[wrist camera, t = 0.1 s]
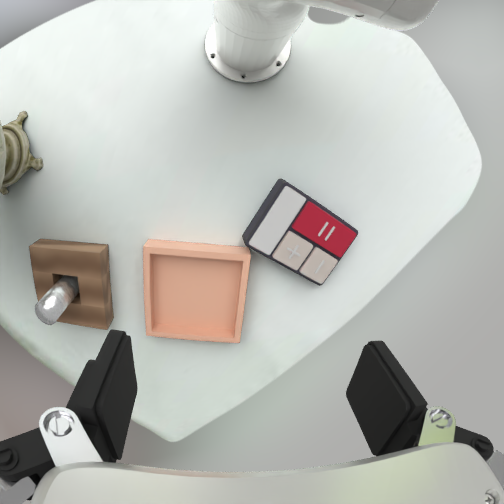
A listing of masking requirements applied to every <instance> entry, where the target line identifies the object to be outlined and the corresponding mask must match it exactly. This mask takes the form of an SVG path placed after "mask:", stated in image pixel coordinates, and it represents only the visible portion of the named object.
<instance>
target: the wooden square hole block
mask: <svg viewBox="0 0 504 504" xmlns="http://www.w3.org/2000/svg"><path fill="white" fill-rule="evenodd" d="M29 250H30V257H31V265H32V271H33V277H34V283H35V289H36V294H37V299H38V301H39V300H40V299H41V298H42V297H43V296H44V295H45V294H46V293H47V292H48V291H49V290H50V289H51V288H52V287H53V286H54V285H55V284H56V283H57V282H58V281H59V280H60V279H61V278H62V277H63V275H69V276H76V277H78V283H79V291H80V292H79V293H78V294H77V295H76V296H75V298H74V299H73V300H72V301H71V303H70V304H69V305H68V307H67V308H66V309H65V310H64V312H63V313H62V314H61V316H60V317H59V318H58V319H57V321H58V322H63V323H69V324H74V325H80V326H86V327H92V328H99V329H105V330H107V329H108V328H109V326H110V324H111V322H112V320H113V318H114V316H113V307H112V297H111V285H110V271H109V253H108V245H106V244H94V243H83V242H71V241H60V240H48V239H39V240H38V241H36V242H35V243H33V244H32V245H30V246H29Z"/></svg>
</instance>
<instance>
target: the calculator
mask: <svg viewBox="0 0 504 504" xmlns="http://www.w3.org/2000/svg"><path fill="white" fill-rule="evenodd" d="M357 235H358V230H356V229H355V228H354V227H352V226H351V225H349V224H348V223H347V222H345V221H344V220H342V219H341V218H340V217H338V216H337V215H335V214H334V213H332V212H331V211H330V210H328V209H327V208H325V207H324V206H322V205H321V204H319V203H318V202H316V201H315V200H313V199H312V198H311V197H309V196H308V195H306V194H305V193H303V192H302V191H300V190H298V189H297V188H295V187H294V186H292V185H291V184H289V183H288V182H286V181H285V180H283V179H278V181H277V182H276V184H275V185H274V187H273V188H272V190H271V191H270V193H269V195H268V196H267V198H266V199H265V201H264V202H263V204H262V205H261V207H260V209H259V210H258V212H257V213H256V215H255V216H254V218H253V219H252V221H251V223H250V224H249V226H248V227H247V229H246V230H245V232H244V234H243V236H242V237H243V240H244V243H245V245H246V246H248V247H249V248H251V249H253V250H255V251H257V252H259V253H260V254H262V255H264V256H266V257H268V258H270V259H271V260H273V261H275V262H277V263H279V264H281V265H282V266H284V267H286V268H288V269H290V270H292V271H293V272H295V273H297V274H299V275H301V276H303V277H304V278H306V279H308V280H310V281H312V282H314V283H315V284H317V285H319V286H320V285H322V284H323V283H324V282H325V280H326V279H327V277H328V276H329V275H330V273H331V272H332V270H333V269H334V268H335V266H336V265H337V263H338V262H339V261H340V259H341V258H342V256H343V255H344V253H345V252H346V251H347V249H348V248H349V246H350V245H351V243H352V242H353V240H354V239H355V238H356V236H357Z"/></svg>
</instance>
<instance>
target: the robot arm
mask: <svg viewBox="0 0 504 504" xmlns="http://www.w3.org/2000/svg"><path fill="white" fill-rule="evenodd" d="M438 1H439V0H213V6H214V23H213V24H212V25H211V26H210V28H209V30H208V32H207V34H206V38H205V52H206V55H207V58H208V60H209V62H210V64H211V65H212V66H213V68H214V69H215V70H216V71H218V72H219V73H220V74H221V75H223V76H225V77H227V78H229V79H231V80H234V81H239V82H258V81H262V80H265V79H268V78H270V77H272V76H273V75H275V74H276V73H277V72H279V71H280V70H281V69H282V68H283V67H284V65H285V64H286V62H287V60H288V58H289V55H290V51H291V41H290V39H291V37H292V36H293V34H294V33H295V32H296V30H297V29H298V28H299V26H300V25H301V23H302V22H303V21H304V19H305V17H306V15H307V13H308V11H309V6H311V7H319V8H323V9H327V10H330V11H334V12H337V13H341V14H344V15H347V16H350V17H353V18H356V19H359V20H362V21H365V22H368V23H371V24H374V25H377V26H380V27H383V28H386V29H391V30H397V31H404V30H409V29H412V28H414V27H416V26H418V25H419V24H421V23H422V22H423V21H424V20H425V19H426V18H427V17H428V16H429V15H430V13H431V12H432V11H433V9H434V8H435V6H436V5H437V3H438ZM212 56H214V57H215V58H211V57H212ZM276 64H279V66H276ZM242 76H245V78H242ZM136 395H137V381H136V375H135V368H134V361H133V353H132V345H131V337H130V336H128V335H126V332H125V331H119V330H110V331H109V333H108V335H107V337H106V339H105V342H104V344H103V346H102V348H101V350H100V352H99V354H98V356H97V358H96V360H89V361H88V362H87V364H86V366H85V368H84V370H83V372H82V374H81V376H80V378H79V380H78V382H77V384H76V387H75V389H74V391H73V393H72V395H71V397H70V400H69V402H68V404H67V407H66V408H64V407H55V408H51V409H49V410H47V411H46V412H44V413H43V414H42V416H41V418H40V421H39V428H37V429H34V430H31V431H29V432H26V433H23V434H21V435H18V436H15V437H12V438H9V439H6V440H4V441H1V442H0V504H22V503H23V502H24V501H26V500H31V502H30V504H504V454H502V453H501V452H499V451H497V450H496V451H495V452H493V445H492V443H491V442H490V440H489V439H488V438H486V437H484V436H482V435H480V434H477V433H474V432H471V431H468V430H466V429H463V428H460V427H458V426H455V425H456V421H455V417H454V415H453V414H452V413H451V412H450V411H449V410H447V409H445V408H443V407H439V406H435V407H431V408H430V409H427V408H426V406H427V402H426V401H425V399H424V398H423V396H422V395H421V393H420V392H419V391H418V389H417V388H416V386H415V385H414V383H413V382H412V381H411V379H410V378H409V376H408V375H407V373H406V372H405V371H404V369H403V368H402V366H401V365H400V364H399V362H398V361H397V359H396V358H395V357H394V355H393V354H392V353H391V351H390V350H389V349H388V347H387V346H386V344H385V343H384V342H383V341H370V342H368V344H367V345H365V346H364V348H363V351H362V353H361V356H360V358H359V361H358V364H357V366H356V369H355V371H354V374H353V376H352V378H351V381H350V384H349V386H348V388H347V391H346V396H347V399H348V401H349V403H350V405H351V408H352V410H353V412H354V414H355V416H356V418H357V421H358V423H359V425H360V427H361V430H362V432H363V434H364V436H365V439H366V441H367V443H368V445H369V448H370V450H371V452H372V454H373V455H376V457H372V458H367V459H362V460H357V461H352V462H346V463H340V464H334V465H327V466H320V467H313V468H303V469H294V470H281V471H264V472H204V471H187V470H175V469H163V468H154V467H146V466H138V465H129V464H122V463H116V460H117V459H118V460H120V459H121V458H122V453H123V449H124V444H125V440H126V435H127V431H128V427H129V423H130V419H131V414H132V410H133V406H134V402H135V398H136Z"/></svg>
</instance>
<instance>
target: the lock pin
mask: <svg viewBox="0 0 504 504" xmlns="http://www.w3.org/2000/svg"><path fill="white" fill-rule="evenodd" d="M79 292H80V291H79V283H78V277H76V276H69V275H64V276H63V277H62V278H61V279H60V280H59V281H58V282H57V283H56V284H55V285H54V286H53V287H52V288H51V289H50V290H49V291H48V292H47V293H46V294H45V295H44V296H43V297H42V298H41V299H40V300H39V301H38V302H37V304H36V305H35V312H36V315H37V316H38V318H39V319H40V320H41V321H42V322H43V323H45V324H48V325H52V324H54V323H55V322H56V321H57V319H58V318H59V317H60V316H61V314H62V313H63V312H64V310H65V309H66V308H67V307H68V305H69V304H70V303H71V301H72V300H73V299H74V298H75V296H76V295H77V294H78V293H79Z"/></svg>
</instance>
